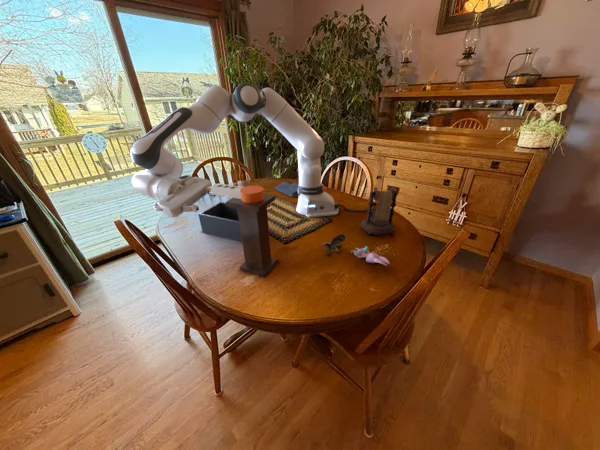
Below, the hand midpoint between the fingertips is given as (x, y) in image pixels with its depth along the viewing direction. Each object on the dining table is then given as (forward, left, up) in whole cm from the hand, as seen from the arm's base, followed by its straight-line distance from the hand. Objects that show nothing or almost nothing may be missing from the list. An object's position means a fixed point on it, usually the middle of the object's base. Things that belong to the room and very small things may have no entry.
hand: (206, 201), depth 81 cm
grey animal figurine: (-45, -1, -22) cm, 50 cm away
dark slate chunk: (-27, -69, -22) cm, 78 cm away
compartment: (-1, -19, -22) cm, 29 cm away
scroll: (-67, -17, -22) cm, 73 cm away
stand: (-17, +8, -22) cm, 29 cm away
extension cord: (-13, +6, +4) cm, 15 cm away
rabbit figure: (-57, +6, -22) cm, 61 cm away
